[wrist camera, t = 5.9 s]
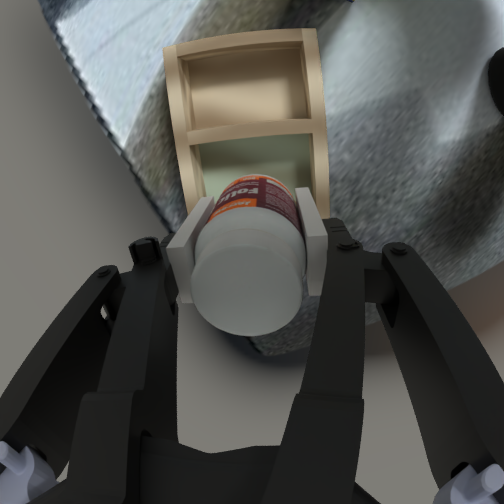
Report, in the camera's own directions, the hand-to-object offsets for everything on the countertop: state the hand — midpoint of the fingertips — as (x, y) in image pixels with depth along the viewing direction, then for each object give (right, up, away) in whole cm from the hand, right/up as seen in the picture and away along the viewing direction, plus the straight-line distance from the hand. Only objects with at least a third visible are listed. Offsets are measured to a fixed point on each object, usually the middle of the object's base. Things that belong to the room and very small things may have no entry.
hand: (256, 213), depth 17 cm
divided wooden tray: (0, +10, +9) cm, 13 cm away
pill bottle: (0, 0, 0) cm, 1 cm away
